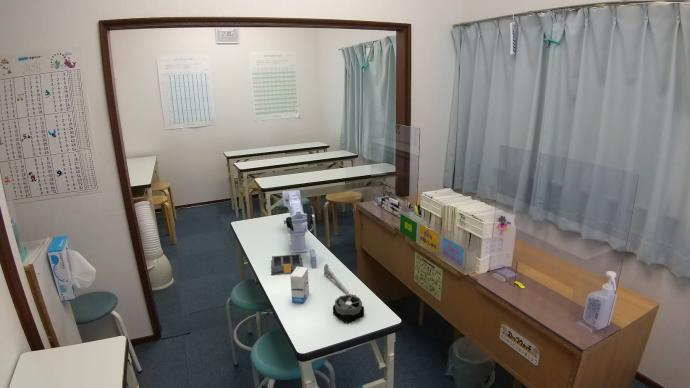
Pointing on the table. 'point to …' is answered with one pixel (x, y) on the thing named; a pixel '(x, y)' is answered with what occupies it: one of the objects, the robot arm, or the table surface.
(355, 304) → the cpu cooler
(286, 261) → the panel rack
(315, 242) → the table surface
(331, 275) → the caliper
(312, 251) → the panel
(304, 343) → the table surface
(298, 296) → the ink box
